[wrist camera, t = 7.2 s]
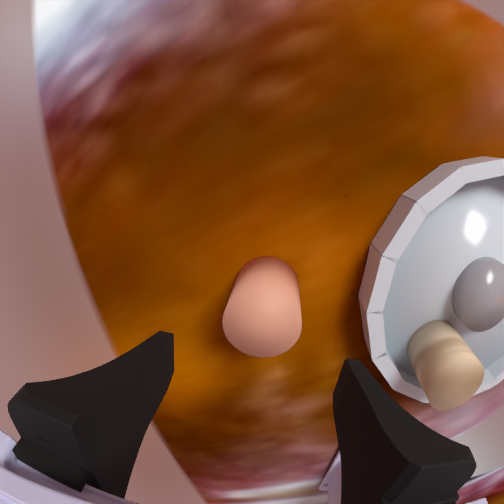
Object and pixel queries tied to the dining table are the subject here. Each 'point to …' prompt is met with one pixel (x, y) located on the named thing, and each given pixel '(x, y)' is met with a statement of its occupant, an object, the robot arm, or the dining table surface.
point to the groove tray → (439, 270)
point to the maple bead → (444, 365)
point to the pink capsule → (264, 308)
